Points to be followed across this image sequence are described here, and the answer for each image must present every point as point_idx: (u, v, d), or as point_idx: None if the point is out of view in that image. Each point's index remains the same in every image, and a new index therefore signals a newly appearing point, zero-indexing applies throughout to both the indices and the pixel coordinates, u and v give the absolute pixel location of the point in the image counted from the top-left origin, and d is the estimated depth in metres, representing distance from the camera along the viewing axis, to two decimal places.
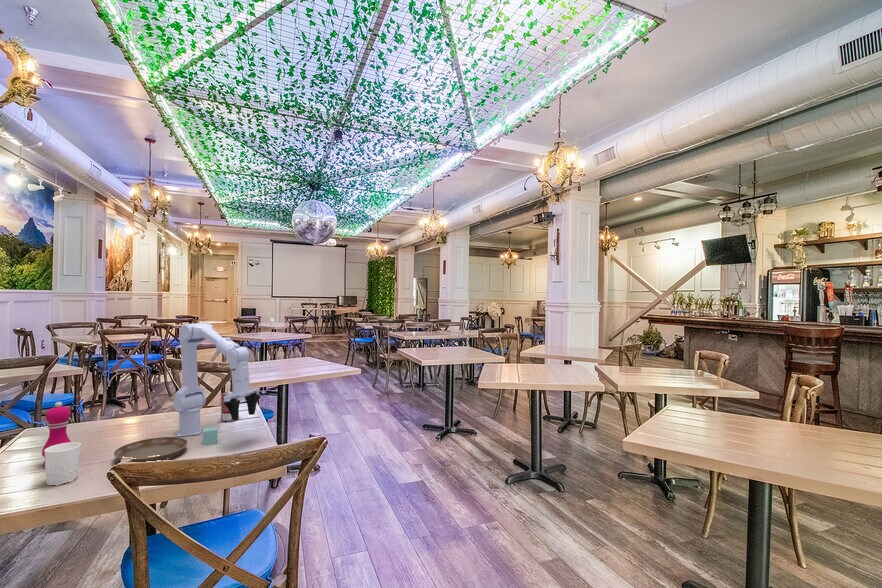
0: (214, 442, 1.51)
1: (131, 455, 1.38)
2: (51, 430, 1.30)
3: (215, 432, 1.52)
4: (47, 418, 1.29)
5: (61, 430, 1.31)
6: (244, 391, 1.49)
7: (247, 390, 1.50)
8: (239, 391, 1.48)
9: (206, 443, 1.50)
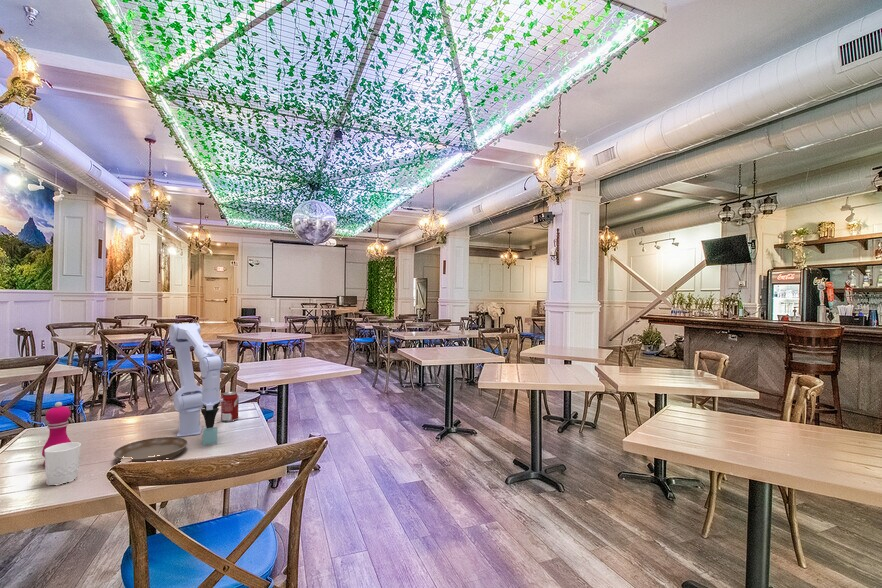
0: (214, 442, 1.51)
1: (131, 455, 1.38)
2: (51, 430, 1.30)
3: (215, 432, 1.52)
4: (47, 418, 1.29)
5: (61, 430, 1.31)
6: (218, 399, 1.53)
7: (219, 398, 1.54)
8: (215, 399, 1.51)
9: (206, 443, 1.50)
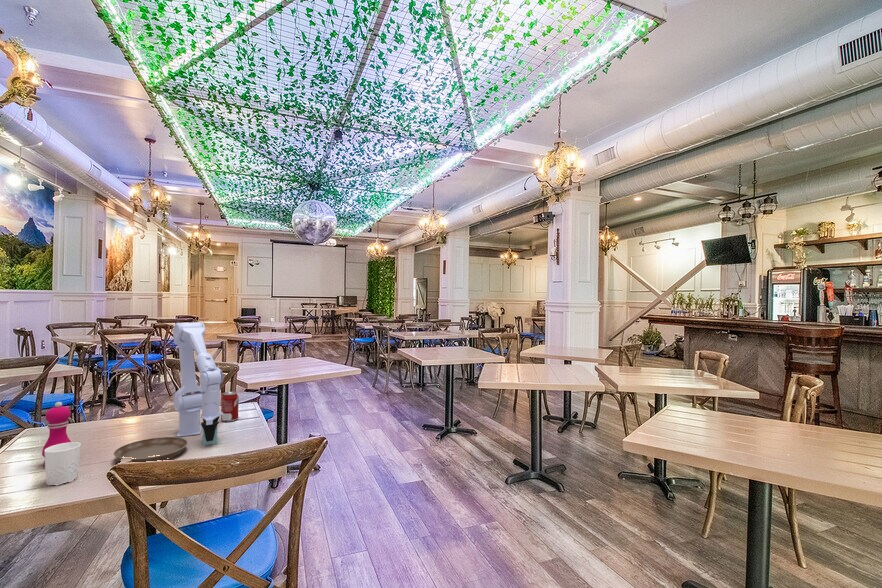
0: (214, 442, 1.51)
1: (131, 455, 1.38)
2: (51, 430, 1.30)
3: (215, 432, 1.52)
4: (47, 418, 1.29)
5: (61, 430, 1.31)
6: (218, 413, 1.53)
7: (219, 412, 1.54)
8: (214, 413, 1.51)
9: (206, 443, 1.50)
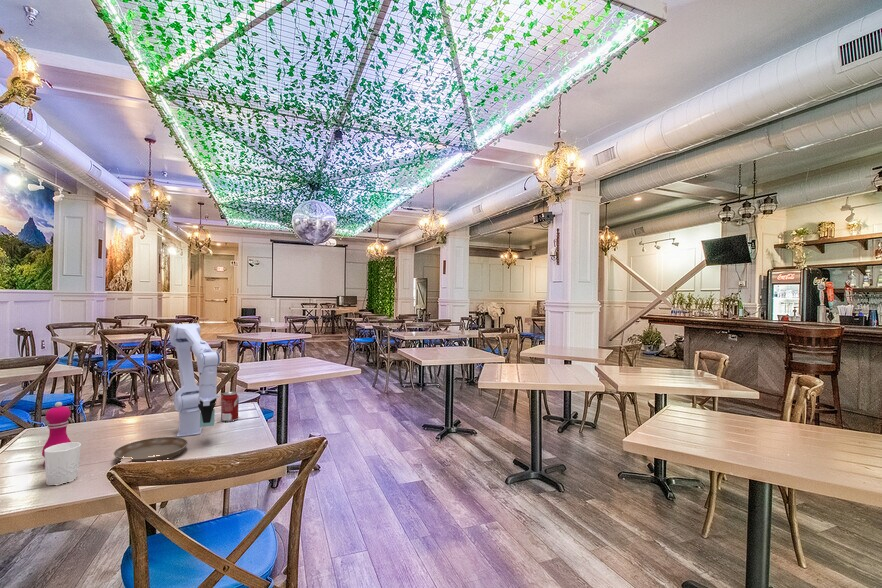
0: (211, 424, 1.51)
1: (131, 455, 1.38)
2: (51, 430, 1.30)
3: (212, 414, 1.51)
4: (47, 418, 1.29)
5: (61, 430, 1.31)
6: (215, 395, 1.52)
7: None
8: (211, 395, 1.50)
9: (203, 425, 1.50)
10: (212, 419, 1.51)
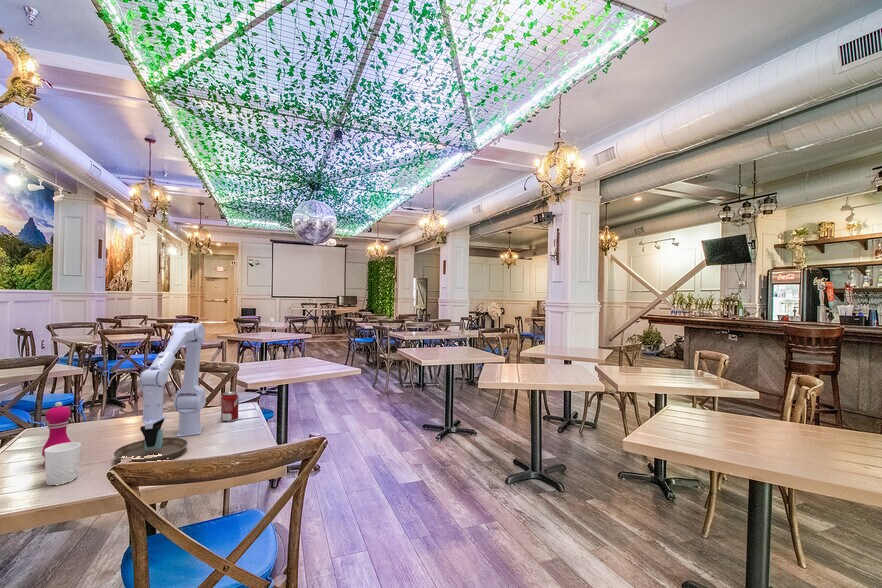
0: (158, 446, 1.39)
1: (131, 455, 1.38)
2: (51, 430, 1.30)
3: (159, 435, 1.39)
4: (47, 418, 1.29)
5: (61, 430, 1.31)
6: (161, 416, 1.40)
7: (162, 415, 1.41)
8: (156, 416, 1.38)
9: (148, 447, 1.38)
10: (158, 441, 1.39)
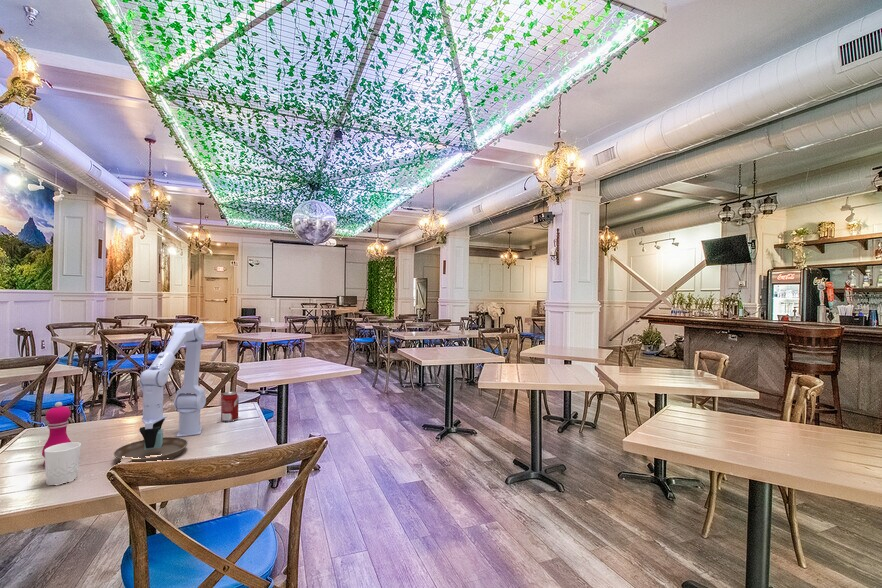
0: (158, 446, 1.39)
1: (131, 455, 1.38)
2: (51, 430, 1.30)
3: (159, 435, 1.39)
4: (47, 418, 1.29)
5: (61, 430, 1.31)
6: (161, 416, 1.40)
7: (162, 415, 1.41)
8: (156, 416, 1.38)
9: None
10: (158, 441, 1.39)
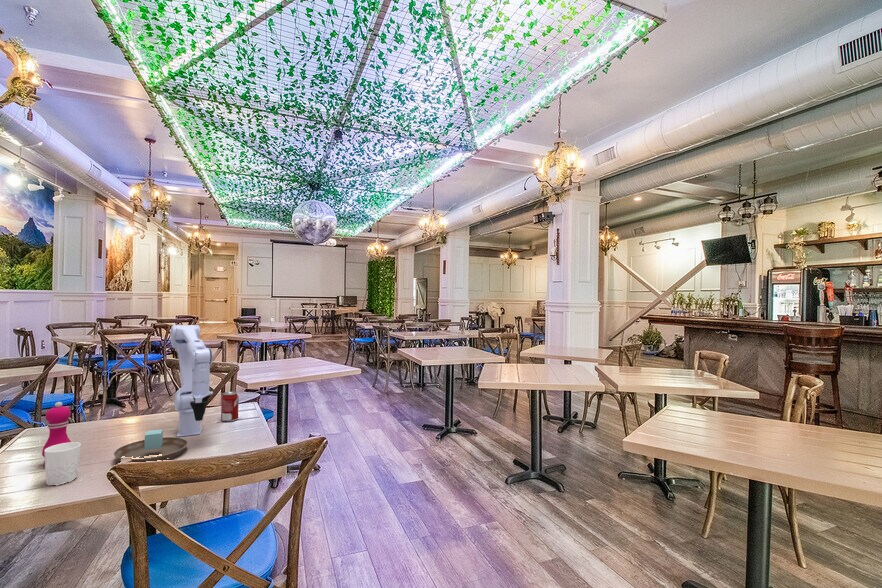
0: (158, 446, 1.39)
1: (131, 455, 1.38)
2: (51, 430, 1.30)
3: (159, 435, 1.39)
4: (47, 418, 1.29)
5: (61, 430, 1.31)
6: (208, 392, 1.52)
7: None
8: (204, 392, 1.51)
9: (148, 447, 1.38)
10: (158, 441, 1.39)
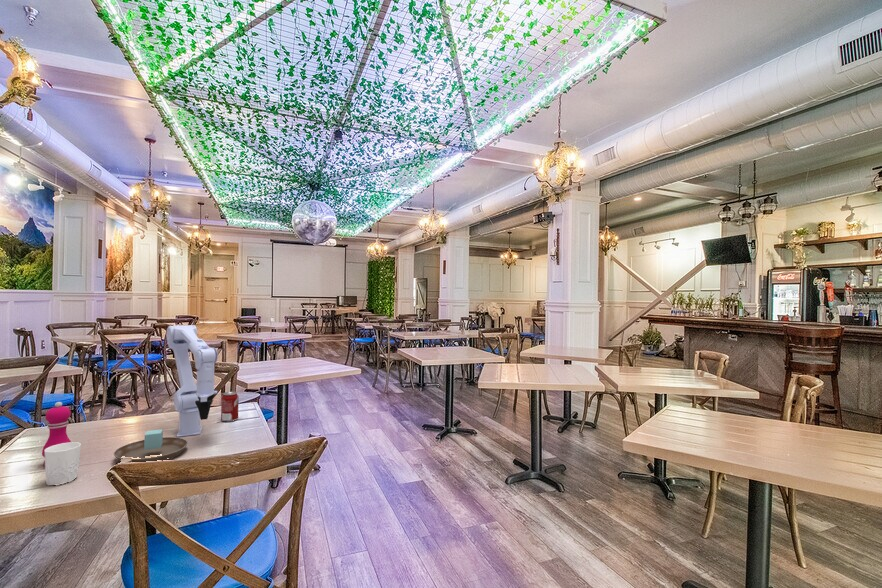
0: (157, 446, 1.39)
1: (131, 455, 1.38)
2: (51, 430, 1.30)
3: (159, 435, 1.39)
4: (47, 418, 1.29)
5: (61, 430, 1.31)
6: (212, 391, 1.54)
7: (213, 390, 1.55)
8: (209, 391, 1.52)
9: (148, 447, 1.38)
10: (158, 441, 1.39)
